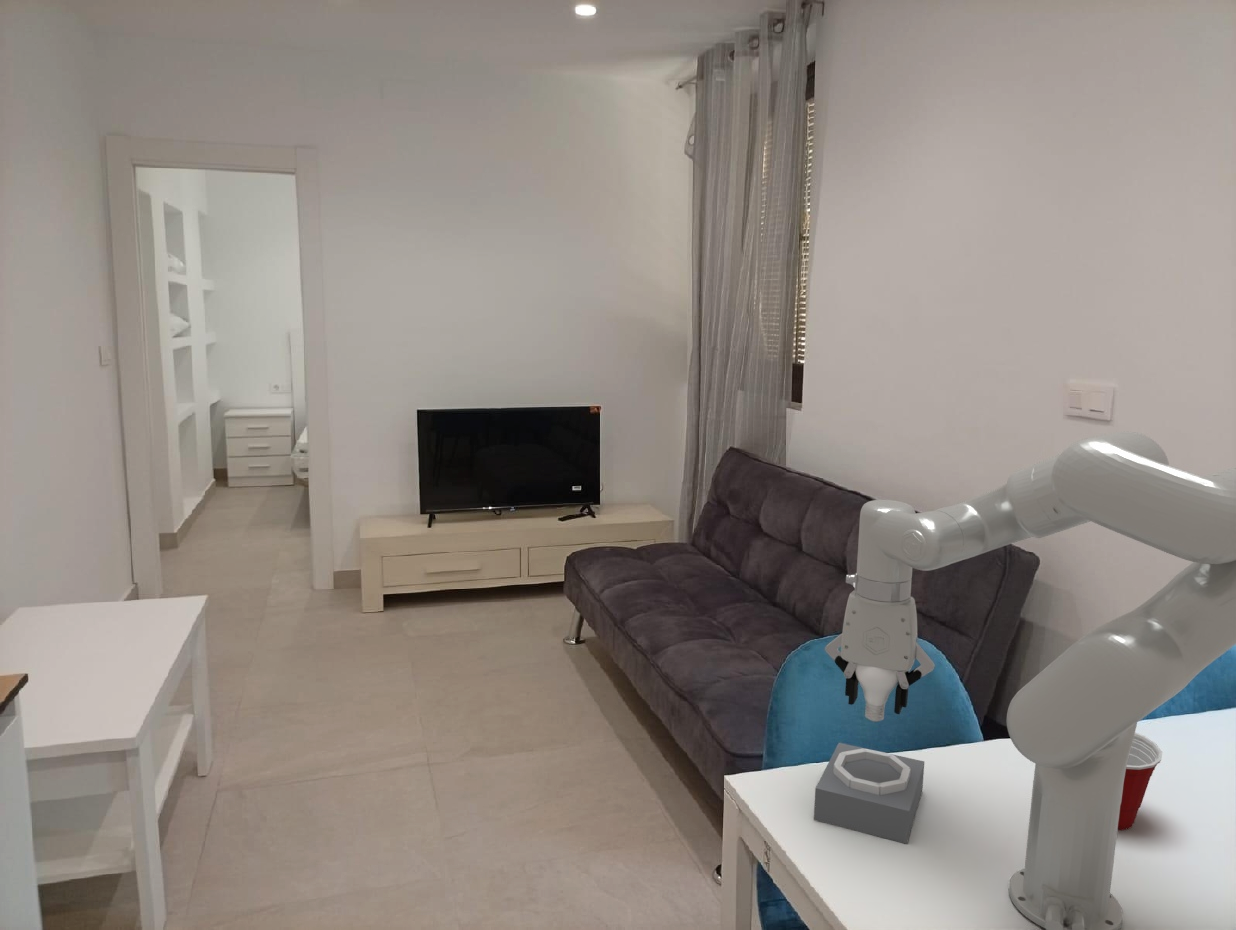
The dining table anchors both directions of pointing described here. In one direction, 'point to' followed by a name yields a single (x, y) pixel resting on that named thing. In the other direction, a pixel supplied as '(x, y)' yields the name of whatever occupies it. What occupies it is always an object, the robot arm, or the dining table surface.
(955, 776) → the dining table surface
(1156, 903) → the dining table surface
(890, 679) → the lightbulb
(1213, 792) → the dining table surface
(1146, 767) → the plastic cup
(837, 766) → the octagon ring base plate
